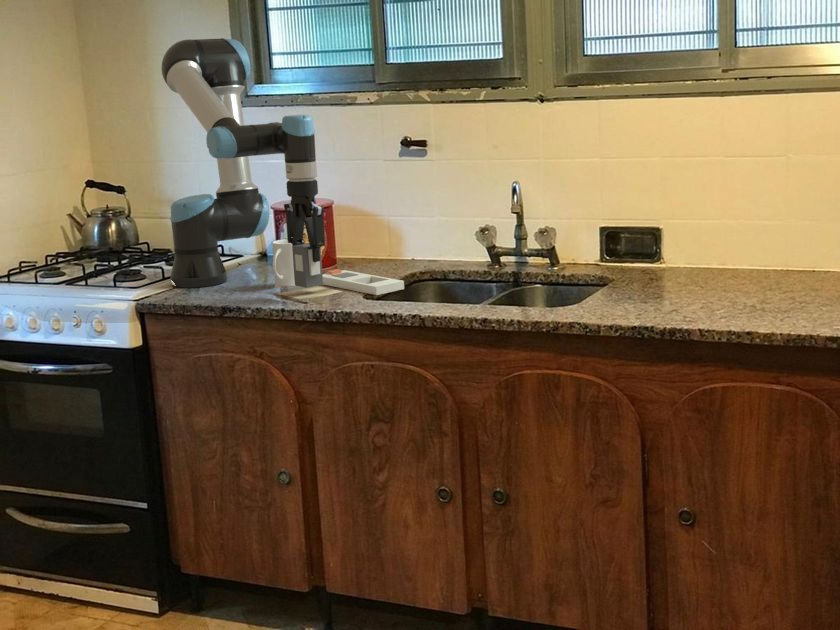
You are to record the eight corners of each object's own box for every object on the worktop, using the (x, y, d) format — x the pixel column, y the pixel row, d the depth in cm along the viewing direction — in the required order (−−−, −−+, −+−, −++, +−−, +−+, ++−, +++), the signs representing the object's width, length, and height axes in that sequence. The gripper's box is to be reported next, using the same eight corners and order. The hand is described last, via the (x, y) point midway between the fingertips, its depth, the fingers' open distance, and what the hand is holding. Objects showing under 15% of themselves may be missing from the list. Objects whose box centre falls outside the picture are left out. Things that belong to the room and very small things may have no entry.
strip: (304, 284, 274) (303, 269, 273) (331, 278, 280) (330, 264, 279) (376, 298, 252) (375, 283, 252) (404, 292, 258) (403, 277, 257)
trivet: (276, 297, 259) (275, 293, 259) (314, 289, 267) (314, 285, 267) (304, 304, 250) (304, 300, 250) (343, 295, 258) (343, 291, 258)
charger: (294, 285, 258) (291, 245, 256) (311, 282, 261) (308, 243, 259) (306, 287, 254) (303, 247, 252) (323, 284, 258) (320, 244, 255)
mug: (286, 293, 264) (283, 246, 261) (260, 291, 268) (256, 245, 265) (313, 284, 274) (310, 239, 271) (288, 282, 278) (284, 238, 275)
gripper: (267, 179, 256) (275, 271, 261) (311, 182, 243) (317, 279, 248) (292, 176, 261) (299, 266, 266) (336, 179, 248) (342, 274, 253)
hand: (308, 273), depth 257 cm, fingers closed on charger, 5 cm apart
